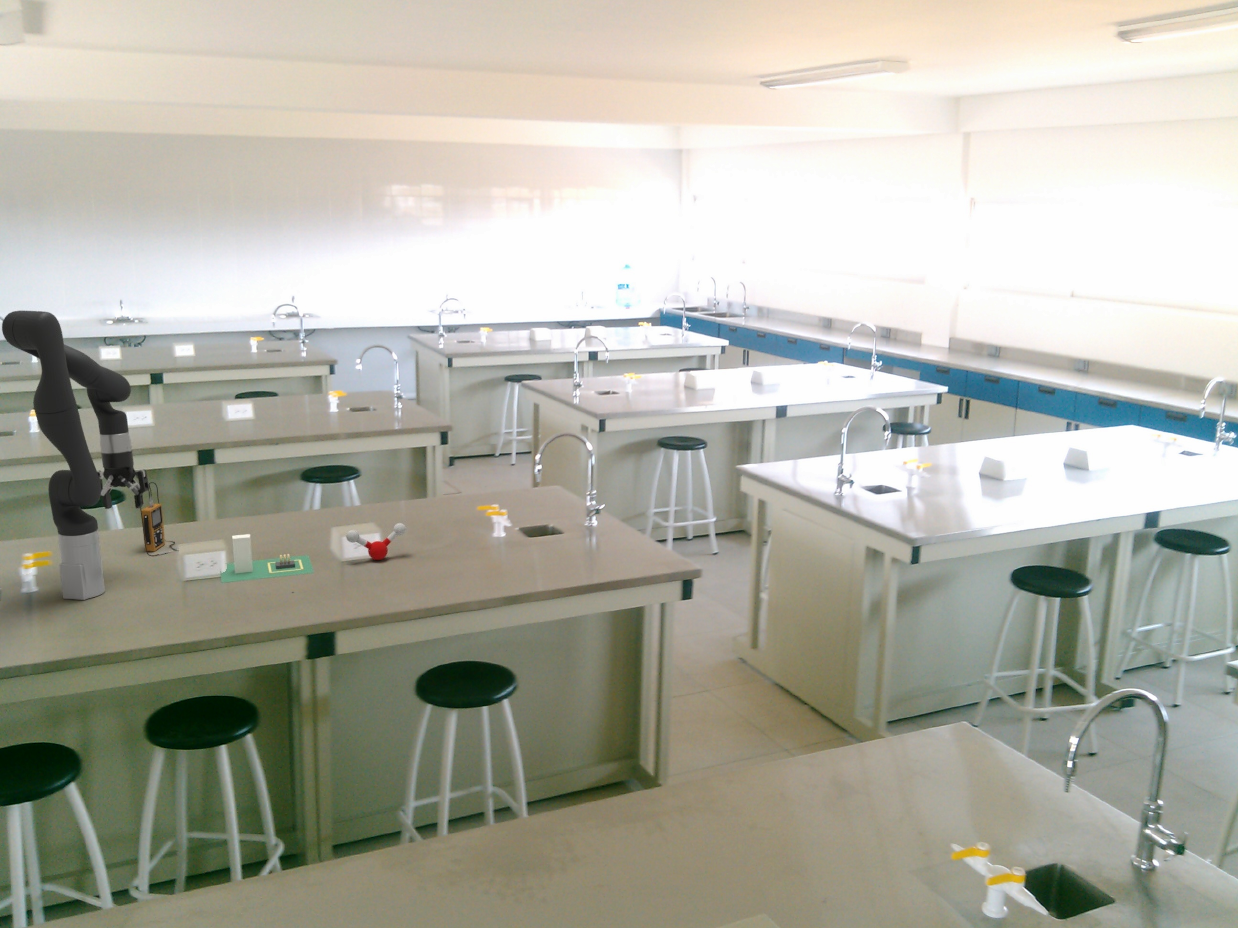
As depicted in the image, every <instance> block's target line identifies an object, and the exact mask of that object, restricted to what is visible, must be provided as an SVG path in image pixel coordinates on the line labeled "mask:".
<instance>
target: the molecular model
mask: <svg viewBox="0 0 1238 928" xmlns="http://www.w3.org/2000/svg"><path fill="white" fill-rule="evenodd" d="M406 531H407V527H406V525H405V524H403V523H401V522H398V523H395V525H394V526H393V531H392V532H391V533H390V534H389V535H388V536H387V537H386V538H384V540H383V541H380V540H376V541H373V542H370V541H368V540H366V539H365V538H363V537H362V536H360V533H359V532H358V531H357V530H356V529H351V530H349V531H348V532H347V533H346V535H345V536H346V537H345V538H346V540H347V541H348V542H349V543H357V544H358V545H360V546H362V547H364V548H366V549H367V553H368V555H369V557H370V558H371V559H372V560H375V561H381V560H383V559H384V558H385V557H387V555H388V546H389V545H390V544H391V543H392V542H393V541H394V540H395V539H396V538H397V537H398V536H400V537H401V536H403V535H405V534H406Z"/></svg>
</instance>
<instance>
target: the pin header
mask: <svg viewBox="0 0 1238 928" xmlns="http://www.w3.org/2000/svg"><path fill="white" fill-rule="evenodd" d="M286 555H287V556H286ZM286 557H287V559H288V561H286ZM290 557H291V556H290V553H287V554H283V555H282V554H279V558H280V562H275V564H276V569H284V568H294V567H295V562H294V560H291V561H290ZM282 558H284V561H282Z"/></svg>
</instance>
